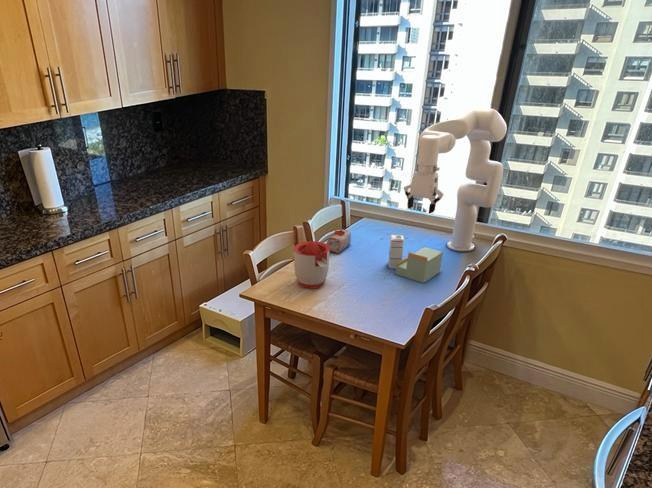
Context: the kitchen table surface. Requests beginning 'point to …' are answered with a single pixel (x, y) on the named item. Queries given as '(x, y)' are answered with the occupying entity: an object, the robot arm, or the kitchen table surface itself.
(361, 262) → the kitchen table surface
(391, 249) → the syrup box
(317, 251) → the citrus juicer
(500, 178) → the robot arm
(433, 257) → the stepped box
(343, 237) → the food item
